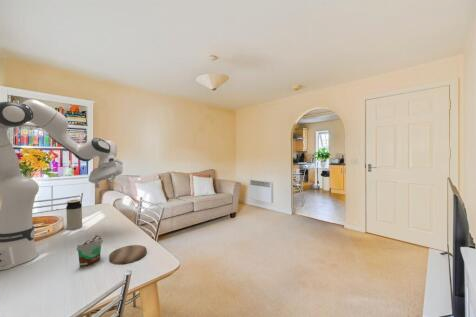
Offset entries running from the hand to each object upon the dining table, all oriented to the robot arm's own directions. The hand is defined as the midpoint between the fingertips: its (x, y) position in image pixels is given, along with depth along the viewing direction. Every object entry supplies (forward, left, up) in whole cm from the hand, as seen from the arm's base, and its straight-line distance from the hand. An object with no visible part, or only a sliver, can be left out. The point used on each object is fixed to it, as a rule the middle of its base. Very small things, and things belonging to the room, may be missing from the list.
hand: (103, 185), depth 124 cm
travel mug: (-21, +27, -31) cm, 46 cm away
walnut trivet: (+14, -29, -31) cm, 44 cm away
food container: (0, -29, -31) cm, 42 cm away
